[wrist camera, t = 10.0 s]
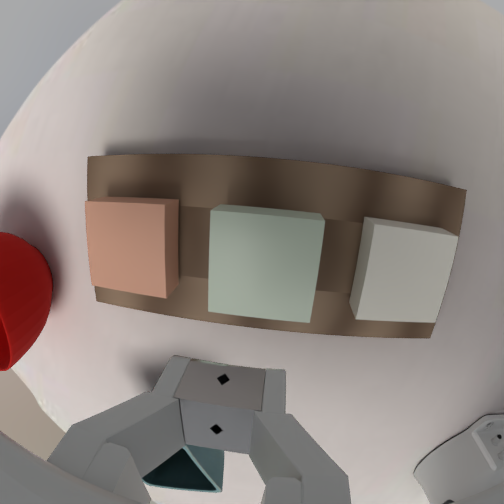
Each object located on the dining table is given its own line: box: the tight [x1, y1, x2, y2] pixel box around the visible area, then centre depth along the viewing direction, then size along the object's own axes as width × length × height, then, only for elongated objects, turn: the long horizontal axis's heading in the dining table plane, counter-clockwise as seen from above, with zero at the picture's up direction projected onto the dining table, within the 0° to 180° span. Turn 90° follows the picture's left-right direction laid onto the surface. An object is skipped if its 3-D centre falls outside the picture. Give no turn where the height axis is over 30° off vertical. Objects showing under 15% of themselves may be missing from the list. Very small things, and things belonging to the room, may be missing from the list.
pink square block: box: [85, 196, 179, 298], centre depth 20 cm, size 6×6×5 cm
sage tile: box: [208, 204, 325, 323], centre depth 19 cm, size 6×6×5 cm
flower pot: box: [141, 444, 224, 493], centre depth 24 cm, size 9×9×9 cm
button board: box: [87, 154, 467, 338], centre depth 21 cm, size 28×12×2 cm, turn 86°
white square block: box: [349, 217, 459, 323], centre depth 19 cm, size 6×6×5 cm
